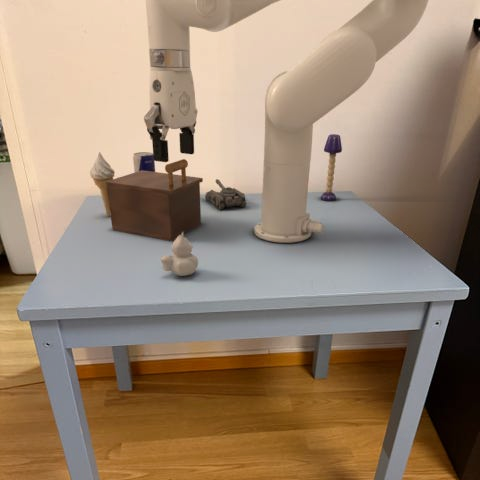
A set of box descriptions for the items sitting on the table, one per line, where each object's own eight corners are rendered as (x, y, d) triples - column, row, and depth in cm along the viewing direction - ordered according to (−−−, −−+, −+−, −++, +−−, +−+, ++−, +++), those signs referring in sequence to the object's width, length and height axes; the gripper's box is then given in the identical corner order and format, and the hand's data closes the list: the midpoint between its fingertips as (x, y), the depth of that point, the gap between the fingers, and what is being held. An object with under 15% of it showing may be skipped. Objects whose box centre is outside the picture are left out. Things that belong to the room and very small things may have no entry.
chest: (201, 224, 105) (199, 181, 100) (171, 241, 96) (168, 194, 91) (145, 214, 111) (142, 173, 106) (112, 229, 101) (106, 185, 96)
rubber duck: (202, 277, 80) (201, 234, 76) (165, 283, 78) (162, 239, 74) (193, 266, 84) (192, 224, 80) (158, 271, 82) (155, 228, 78)
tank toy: (201, 199, 123) (200, 180, 121) (233, 196, 127) (233, 177, 124) (216, 211, 114) (216, 191, 111) (250, 208, 117) (251, 187, 115)
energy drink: (155, 203, 120) (151, 156, 114) (135, 203, 120) (130, 155, 114) (159, 198, 124) (155, 152, 118) (139, 197, 124) (135, 151, 118)
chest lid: (202, 181, 100) (202, 157, 98) (171, 194, 90) (169, 168, 88) (142, 173, 106) (139, 150, 104) (106, 185, 96) (103, 160, 94)
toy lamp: (337, 201, 123) (345, 136, 114) (320, 201, 123) (326, 136, 115) (334, 197, 127) (341, 133, 119) (317, 197, 127) (324, 133, 119)
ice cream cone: (124, 214, 111) (116, 150, 104) (112, 221, 107) (102, 154, 99) (105, 212, 113) (96, 148, 105) (91, 218, 108) (81, 152, 101)
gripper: (160, 62, 76) (166, 167, 85) (210, 62, 90) (211, 152, 99) (124, 60, 79) (133, 162, 88) (178, 61, 93) (181, 149, 101)
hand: (174, 157), depth 93 cm, fingers open, 9 cm apart
